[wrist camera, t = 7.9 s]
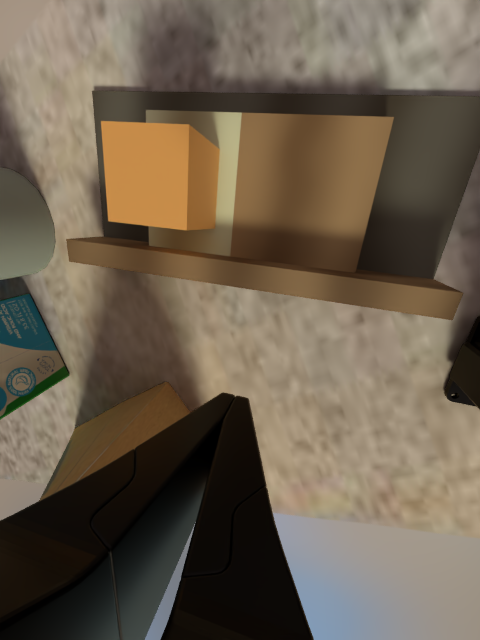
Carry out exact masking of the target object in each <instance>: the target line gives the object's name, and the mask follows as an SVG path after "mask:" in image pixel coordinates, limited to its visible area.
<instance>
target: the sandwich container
mask: <svg viewBox="0 0 480 640" xmlns="http://www.w3.org/2000/svg"><path fill="white" fill-rule="evenodd" d="M189 413H190V411H189V410H188V409H187V407H186V406H185V405H184V403H183V402H182V401H181V399H180V398H179V396H178V395H177V394H176V392H175V391H174V390H173V388H172V387H171V386H170V384H169V383H168V382H164V383H162V384H160V385H158V386H156V387H154V388H151V389H149V390H147V391H145V392H143V393H141V394H139V395H136V396H134V397H132V398H130V399H128V400H126V401H124V402H122V403H120V404H118V405H117V406H115V407H113V408H111V409H109V410H108V411H106V412H104V413H102V414H100V415H99V416H97V417H95V418H93V419H91V420H90V421H88V422H86V423H84V424H82V425H81V426H79V427H77V428H75V429H74V432H73V434H72V436H71V438H70V441H69V443H68V445H67V447H66V449H65V451H64V453H63V455H62V457H61V459H60V461H59V463H58V465H57V467H56V469H55V471H54V473H53V475H52V477H51V479H50V481H49V483H48V485H47V487H46V489H45V491H44V493H43V494H42V496H41V498H40V500H42V499H44V498H46V497H48V496H50V495H52V494H54V493H56V492H58V491H60V490H61V489H63V488H65V487H67V486H69V485H71V484H73V483H75V482H77V481H79V480H81V479H82V478H84V477H86V476H88V475H90V474H92V473H93V472H95V471H97V470H99V469H101V468H102V467H104V466H106V465H107V464H109V463H111V462H112V461H114V460H116V459H117V458H119V457H121V456H122V455H124V454H126V453H127V452H129V451H130V450H132V449H135V448H136V447H137V446H138V445H140V444H142V443H143V442H145V441H146V440H148V439H150V438H151V437H153V436H154V435H156V434H157V433H159V432H161V431H162V430H164V429H165V428H167V427H169V426H170V425H172V424H173V423H175V422H177V421H178V420H180V419H181V418H183V417H184V416H186V415H188V414H189ZM40 500H39V501H40Z"/></svg>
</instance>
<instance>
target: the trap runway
mask: <svg viewBox="0 0 480 640" xmlns="http://www.w3.org/2000/svg"><path fill="white" fill-rule="evenodd" d="M92 94H93V106H94V119H95V131H96V143H97V155H98V168H99V180H100V192H101V204H102V217H103V229H104V237H90V238H76V239H66V241H67V248H68V256H69V261H70V262H76V263H83V264H89V265H96V266H102V267H109V268H115V269H122V270H128V271H135V272H141V273H148V274H154V275H161V276H168V277H174V278H181V279H187V280H194V281H200V282H207V283H213V284H220V285H226V286H233V287H239V288H246V289H252V290H259V291H265V292H272V293H278V294H285V295H292V296H298V297H305V298H311V299H318V300H324V301H331V302H337V303H344V304H350V305H357V306H363V307H370V308H376V309H383V310H389V311H396V312H402V313H409V314H416V315H422V316H429V317H435V318H442V319H448V320H453V318H454V315H455V313H456V310H457V308H458V305H459V303H460V300H461V298H462V295H463V293H462V292H460V291H458V290H456V289H454V288H451V287H449V286H447V285H445V284H443V283H441V282H438V281H436V280H434V276H435V273H436V270H437V267H438V264H439V262H440V259H441V256H442V253H443V250H444V248H445V245H446V242H447V239H448V236H449V234H450V231H451V228H452V225H453V222H454V220H455V217H456V214H457V211H458V208H459V206H460V203H461V200H462V197H463V194H464V191H465V189H466V186H467V183H468V180H469V177H470V175H471V172H472V169H473V166H474V163H475V161H476V158H477V155H478V152H479V149H480V97H477V96H411V95H344V94H277V93H210V92H143V91H92ZM101 121H115V122H140V123H165V124H189V125H190V126H192V127H193V128H194V129H195V130H197V131H198V132H199V133H200V134H202V135H203V136H204V137H205V138H206V139H208V140H209V141H210V142H211V143H213V144H214V145H215V146H216V147H217V148H219V149H220V155H219V171H218V188H217V205H216V222H215V229H202V230H178V229H170V228H161V227H153V226H144V225H136V224H128V223H119V222H111V221H108V210H107V197H106V183H105V170H104V156H103V143H102V129H101Z"/></svg>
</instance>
